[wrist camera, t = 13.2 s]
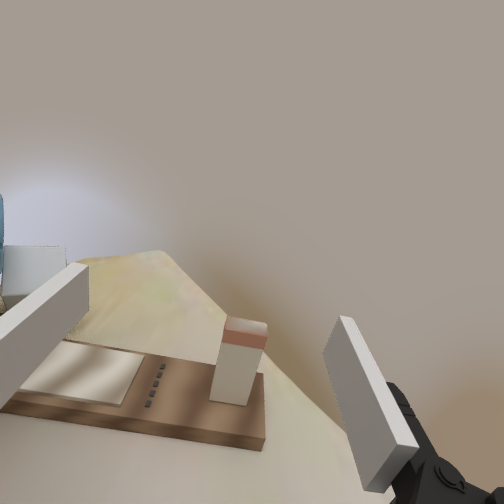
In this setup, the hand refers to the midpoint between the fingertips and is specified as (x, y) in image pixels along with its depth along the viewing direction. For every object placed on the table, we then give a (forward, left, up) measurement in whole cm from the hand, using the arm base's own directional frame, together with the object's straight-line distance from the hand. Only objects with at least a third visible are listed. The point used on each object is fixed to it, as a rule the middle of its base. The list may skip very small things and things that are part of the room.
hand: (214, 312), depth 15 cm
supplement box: (-31, +29, -24) cm, 49 cm away
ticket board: (-7, +15, -27) cm, 32 cm away
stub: (+4, +15, -24) cm, 29 cm away
